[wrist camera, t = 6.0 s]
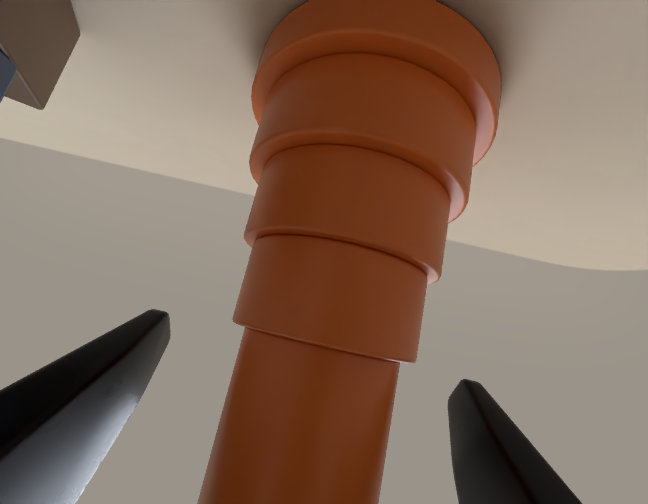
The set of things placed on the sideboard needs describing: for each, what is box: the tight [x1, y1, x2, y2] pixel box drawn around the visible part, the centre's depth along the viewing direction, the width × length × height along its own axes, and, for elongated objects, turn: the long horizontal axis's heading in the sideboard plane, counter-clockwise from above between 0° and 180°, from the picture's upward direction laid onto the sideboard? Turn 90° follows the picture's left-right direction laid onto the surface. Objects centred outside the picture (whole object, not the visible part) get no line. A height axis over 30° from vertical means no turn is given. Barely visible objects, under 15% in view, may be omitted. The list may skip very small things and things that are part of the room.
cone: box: [197, 0, 501, 504], centre depth 7 cm, size 6×6×12 cm
